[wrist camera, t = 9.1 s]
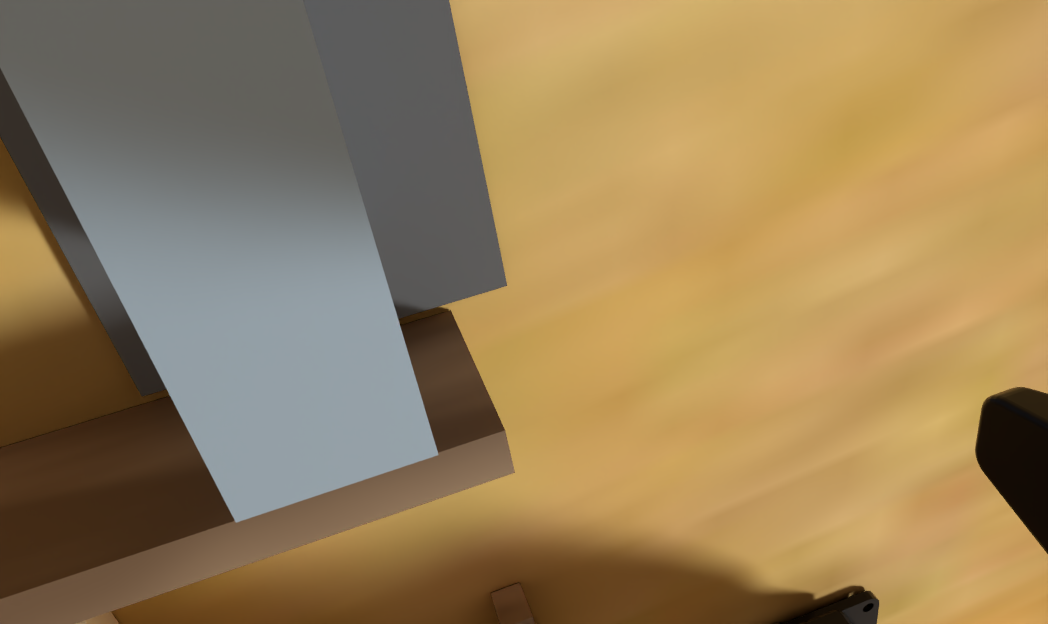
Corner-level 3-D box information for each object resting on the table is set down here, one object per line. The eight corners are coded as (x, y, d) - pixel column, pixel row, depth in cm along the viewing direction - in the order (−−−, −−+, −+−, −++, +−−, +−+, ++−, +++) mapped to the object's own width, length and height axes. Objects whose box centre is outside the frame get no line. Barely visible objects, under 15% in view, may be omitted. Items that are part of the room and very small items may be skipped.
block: (365, 232, 19) (438, 455, 12) (234, 270, 18) (236, 522, 12) (176, -389, 13) (118, -621, 6) (-28, -358, 12) (-334, -576, 6)
